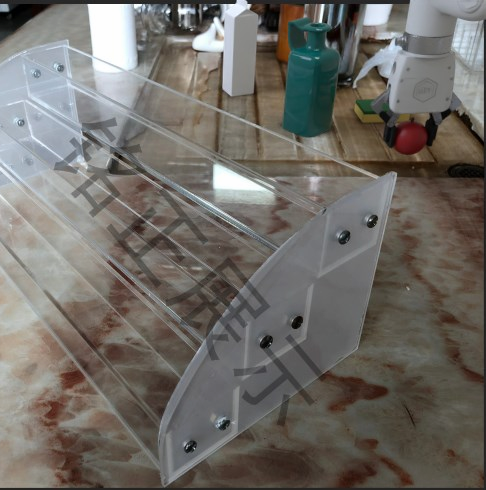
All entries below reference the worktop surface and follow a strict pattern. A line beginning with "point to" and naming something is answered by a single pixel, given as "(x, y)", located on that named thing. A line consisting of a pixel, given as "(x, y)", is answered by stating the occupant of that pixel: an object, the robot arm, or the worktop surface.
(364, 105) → the sponge
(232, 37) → the milk
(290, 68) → the pitcher
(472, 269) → the worktop surface
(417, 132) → the apple
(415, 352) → the worktop surface
